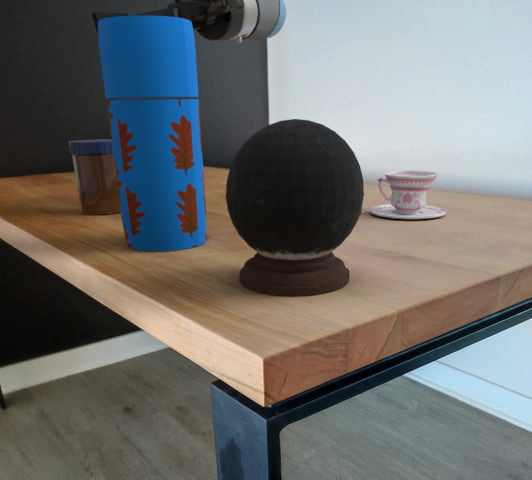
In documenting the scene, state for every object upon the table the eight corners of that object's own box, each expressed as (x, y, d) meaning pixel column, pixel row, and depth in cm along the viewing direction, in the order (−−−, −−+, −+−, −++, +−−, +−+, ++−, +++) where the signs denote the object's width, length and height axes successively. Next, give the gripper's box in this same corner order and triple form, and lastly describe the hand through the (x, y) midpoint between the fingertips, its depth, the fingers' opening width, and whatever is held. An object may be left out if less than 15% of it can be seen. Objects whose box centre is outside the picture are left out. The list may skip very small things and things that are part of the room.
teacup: (438, 207, 92) (442, 169, 90) (453, 220, 81) (458, 177, 79) (366, 207, 93) (369, 169, 91) (372, 220, 82) (374, 178, 80)
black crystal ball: (295, 255, 64) (296, 117, 58) (386, 278, 55) (398, 117, 49) (204, 278, 56) (193, 120, 50) (291, 309, 47) (292, 121, 41)
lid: (63, 154, 87) (61, 142, 86) (79, 150, 94) (77, 139, 94) (114, 153, 87) (112, 141, 86) (126, 149, 94) (124, 138, 94)
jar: (75, 215, 91) (64, 146, 87) (88, 208, 98) (79, 143, 94) (120, 214, 91) (111, 145, 87) (130, 207, 98) (123, 142, 94)
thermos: (204, 231, 78) (191, 28, 67) (210, 248, 68) (196, 15, 57) (127, 235, 76) (101, 28, 65) (121, 254, 66) (90, 14, 56)
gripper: (298, 14, 79) (221, 10, 63) (170, 60, 93) (78, 66, 77) (288, -46, 76) (203, -67, 60) (156, 10, 90) (58, 6, 74)
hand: (133, 8), depth 68 cm, fingers open, 13 cm apart
